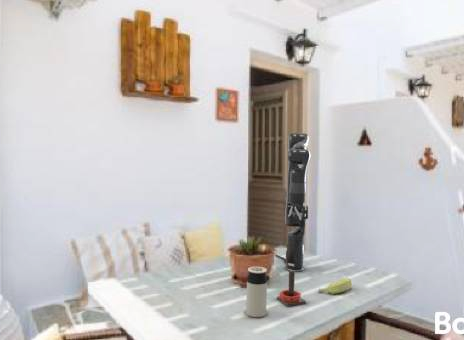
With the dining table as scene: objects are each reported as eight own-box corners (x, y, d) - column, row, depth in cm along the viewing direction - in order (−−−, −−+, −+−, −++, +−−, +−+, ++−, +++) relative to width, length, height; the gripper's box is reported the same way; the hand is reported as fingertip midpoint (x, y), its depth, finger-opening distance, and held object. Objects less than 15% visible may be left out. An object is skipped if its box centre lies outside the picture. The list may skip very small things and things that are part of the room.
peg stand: (276, 299, 170) (277, 269, 169) (293, 296, 174) (294, 267, 174) (287, 307, 162) (288, 275, 161) (305, 303, 166) (306, 273, 166)
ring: (276, 296, 171) (276, 291, 171) (292, 293, 175) (292, 288, 175) (287, 303, 163) (287, 298, 163) (304, 300, 167) (304, 295, 167)
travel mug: (251, 319, 149) (252, 273, 148) (243, 311, 156) (244, 267, 156) (269, 316, 152) (270, 271, 151) (260, 308, 160) (262, 265, 159)
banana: (359, 276, 182) (323, 285, 175) (362, 288, 182) (326, 298, 174) (342, 274, 195) (308, 283, 187) (345, 286, 194) (311, 295, 187)
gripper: (313, 193, 177) (312, 228, 177) (295, 190, 189) (294, 223, 190) (299, 193, 173) (298, 229, 174) (282, 190, 186) (281, 224, 186)
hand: (296, 226), depth 182 cm, fingers open, 8 cm apart
